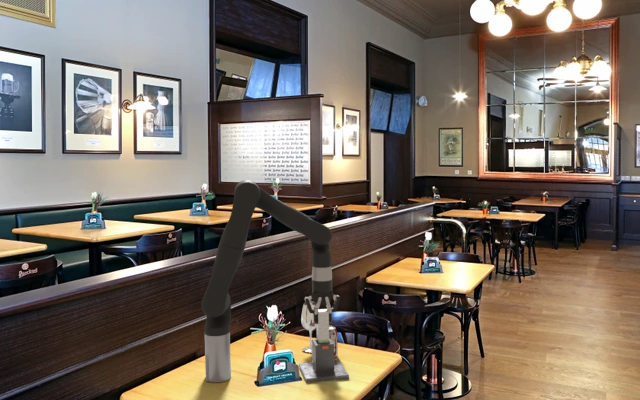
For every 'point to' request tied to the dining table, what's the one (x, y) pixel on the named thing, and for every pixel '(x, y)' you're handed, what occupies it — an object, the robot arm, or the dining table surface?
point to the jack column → (323, 326)
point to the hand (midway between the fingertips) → (322, 322)
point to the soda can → (333, 338)
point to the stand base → (323, 364)
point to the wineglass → (308, 323)
